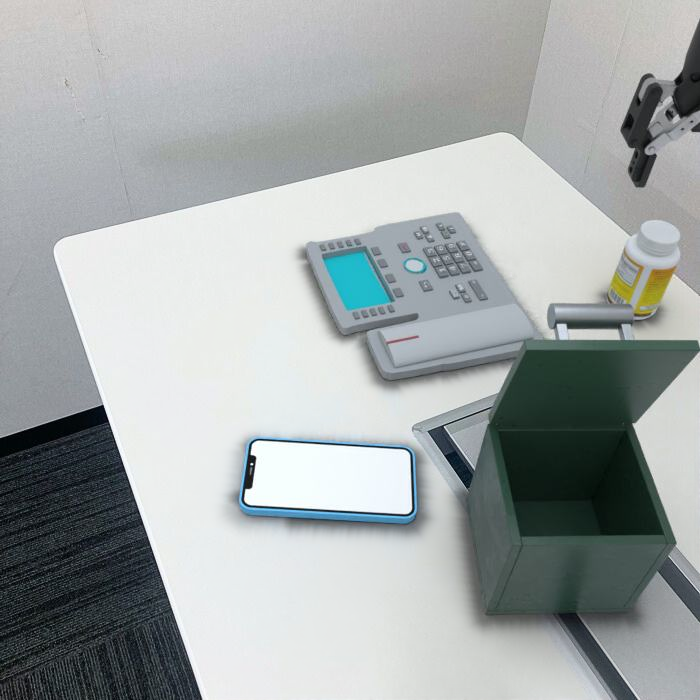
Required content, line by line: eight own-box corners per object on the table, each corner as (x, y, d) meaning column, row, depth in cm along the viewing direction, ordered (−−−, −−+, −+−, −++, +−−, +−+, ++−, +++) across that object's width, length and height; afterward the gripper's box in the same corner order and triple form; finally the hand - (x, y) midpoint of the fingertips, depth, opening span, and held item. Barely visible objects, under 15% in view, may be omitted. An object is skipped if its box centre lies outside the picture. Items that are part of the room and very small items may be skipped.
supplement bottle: (660, 299, 85) (694, 226, 77) (648, 329, 81) (682, 255, 74) (612, 282, 87) (640, 208, 79) (598, 310, 83) (626, 236, 76)
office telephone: (552, 335, 77) (366, 375, 72) (546, 352, 79) (364, 392, 74) (460, 202, 91) (301, 228, 87) (456, 219, 93) (301, 246, 88)
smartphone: (417, 519, 63) (237, 508, 63) (415, 526, 64) (238, 516, 63) (414, 446, 68) (248, 436, 68) (412, 454, 69) (248, 444, 69)
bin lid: (701, 350, 48) (682, 286, 51) (526, 350, 48) (515, 285, 50) (635, 423, 58) (622, 366, 60) (489, 424, 57) (481, 366, 60)
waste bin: (628, 612, 59) (677, 543, 51) (485, 614, 58) (512, 545, 51) (594, 498, 66) (632, 422, 58) (466, 499, 66) (487, 423, 58)
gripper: (683, 31, 58) (618, 206, 70) (861, 36, 59) (768, 208, 70) (652, -8, 63) (597, 161, 75) (816, -3, 64) (736, 163, 76)
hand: (680, 183), depth 73 cm, fingers open, 8 cm apart
